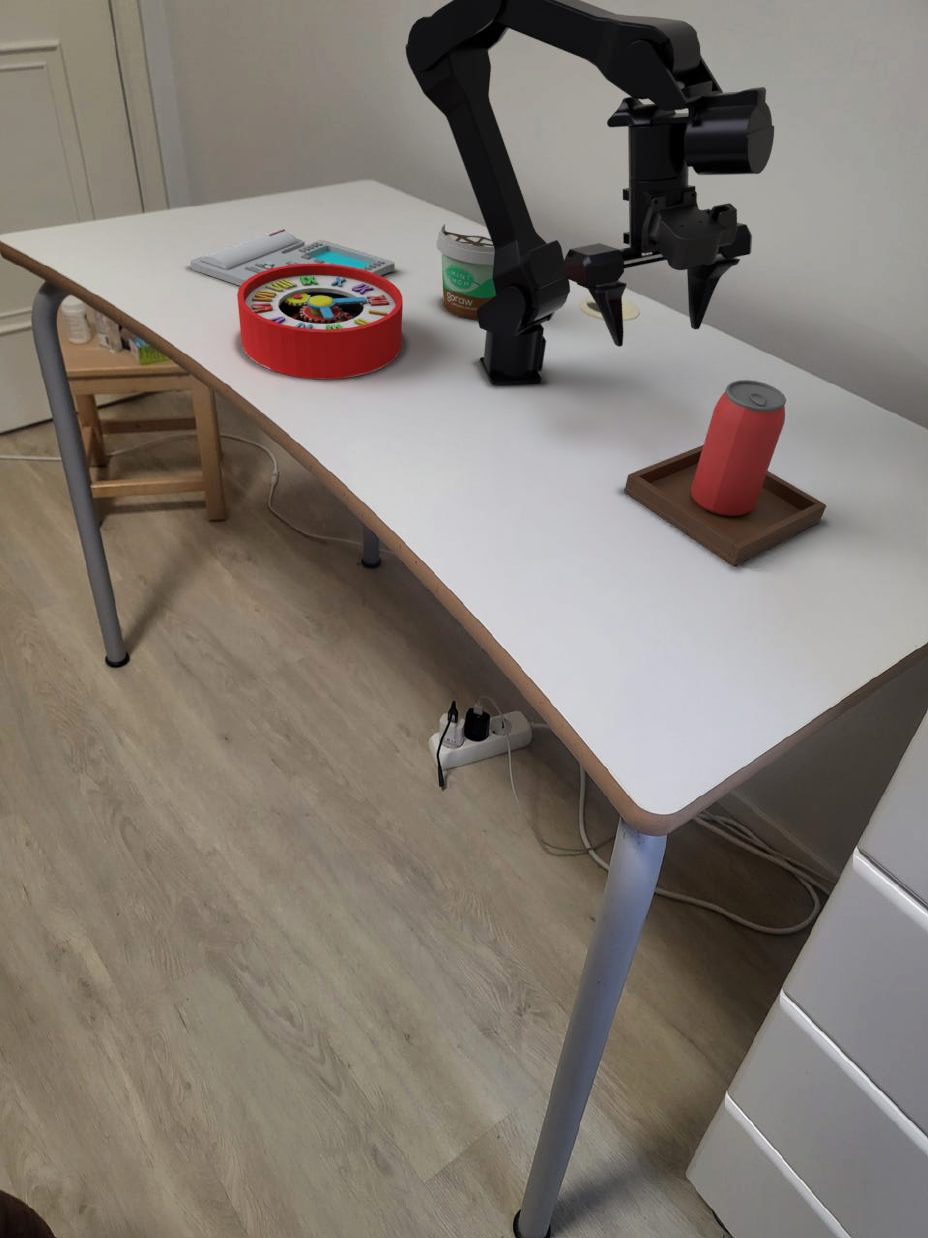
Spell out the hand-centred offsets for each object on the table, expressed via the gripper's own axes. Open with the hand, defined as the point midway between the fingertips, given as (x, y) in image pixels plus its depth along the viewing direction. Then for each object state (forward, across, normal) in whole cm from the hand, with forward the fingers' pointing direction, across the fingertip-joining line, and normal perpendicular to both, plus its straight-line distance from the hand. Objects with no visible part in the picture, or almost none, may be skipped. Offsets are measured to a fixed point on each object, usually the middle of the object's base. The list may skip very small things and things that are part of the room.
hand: (657, 336), depth 95 cm
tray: (+14, -1, -14) cm, 20 cm away
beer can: (+14, -1, -14) cm, 20 cm away
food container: (+3, -10, +35) cm, 36 cm away
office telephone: (-3, -29, +52) cm, 60 cm away
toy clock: (+1, -31, +29) cm, 43 cm away
